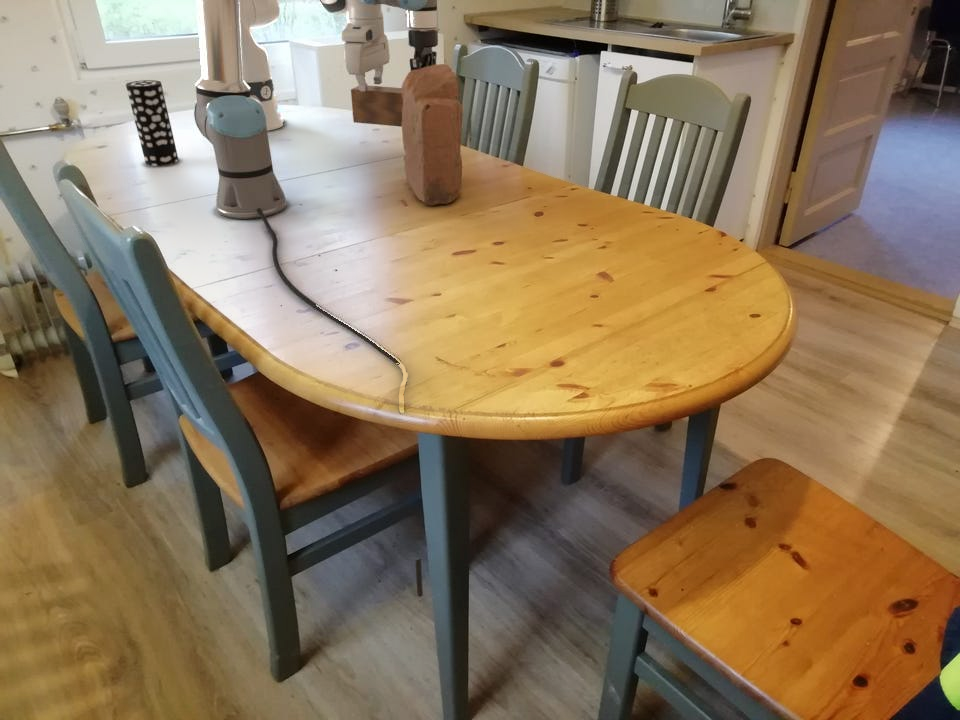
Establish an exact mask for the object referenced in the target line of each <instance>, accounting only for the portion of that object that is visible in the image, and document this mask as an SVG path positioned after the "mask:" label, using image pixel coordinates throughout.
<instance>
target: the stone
mask: <svg viewBox="0 0 960 720" xmlns="http://www.w3.org/2000/svg"><path fill="white" fill-rule="evenodd" d="M400 88H401V94H402V98H403V109H402V127H401V133H402V145H403V150H404V155H403V164H404V165H403V166H404V175H405V177H406V181H407V183H408V184H409V187H410V189H412V191H413V193H414V195H415V196H416V197H417V198H418V200H419V201H422V203H423V205H425V206H436V205H447V204H449V203H452V202H454V200H455V199H457V198H459V197H460V192H461V189H462V185H463V178H462V177H463V159H462V154H461V152H462V151H461V144H462V129H463V119H464V118H463V117H464V108H463V104H461V103H460V100H459V84H458V81H457V76H456V73H455V72H453V70H452V68H451V67H450V65H448V64H446V63H440V64H436V65H431V66H427V67H424V68H421V69H417V70H412V71H411V70H410V71H409V72H408V73H407V75H406V76H405V78H404V80H403V82H402V85H401V87H400Z"/></svg>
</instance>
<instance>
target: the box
mask: <svg viewBox="0 0 960 720" xmlns="http://www.w3.org/2000/svg"><path fill="white" fill-rule="evenodd" d="M367 88H368V89H367V90H366V91H360V90H359V85H357V86H355V87H353V88H351V89H350V95H351V96H350V97H351V109H352V119H353V123H355V124H365V125H367V124H368V125H379V126H390V127H401V128H402V109H403V98H402V94H401V87H395V86H394V87H392V86H380V85H367Z"/></svg>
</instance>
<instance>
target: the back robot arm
mask: <svg viewBox="0 0 960 720" xmlns="http://www.w3.org/2000/svg"><path fill="white" fill-rule="evenodd" d="M318 1H319V3H320V5H321V6H322V8H323V9H324V10H325V11H326V12H327V13H330V14H335V15H336V14H347V23H346V26H345V28H344V29H343V30H342V31H341V33H340V37H341V41H342V42H344V44H343V56H344V57H343V58H344V64H345V70H346V72H347V73H348V75H349V76H350V75H352V76H355V79H356V81H357V84H358V86H359V90H360V91H366V90H367V89H368V88H367V86H368V83H367V82H366V73H368V72H371V71H373V70H374V76H373V77H372V78H373V84H374V85H381V84H382V83H383V73H384V66H385V65H387V64H389V63H390V58H391V57H390V46H389V41H388V40H389V39H388V36H387V35H386V34H385V24H384V14H383V11H382V4H376V5H373V4H364V3H363V2H362V1H361V0H318ZM239 9H240V32H241V54H242V76H243V81H244V82H245V83H246V84H247V85H248V86H249V87H250V98H253V99H255V100H257V101H258V102H260V104H261V105H262V107H263V110H264V114H265V116H266V126H267V132H268V131H269V132H270V131H272V130H277V129H280V128H282V127H283V125H284V122H285V118H284V117H282V113H281V108H282V107H281V105H279V100H278V97H277V95H276V94H275V93H274V90H275V88H274V86H275V85H274V82H273V78H272V77H271V70H270V64H269V56H268V53H267V50H266V49H265V48H264V47H263V46H261V45H260V44H258V43H257V42H256V40H255V39H254V37H253V34H252V31H251V30H252V29H259V28H265V27H267V26H269V25H271V24H273V23H275V22H276V21H278V18H279V16H280V10H281V9H280V3H279V0H239Z"/></svg>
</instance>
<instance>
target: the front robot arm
mask: <svg viewBox="0 0 960 720" xmlns="http://www.w3.org/2000/svg"><path fill="white" fill-rule="evenodd" d="M361 1H362V2H363V3H364V4H373V5H376V4H381V5H386V6H389V7H393V8H398V9H402V10H405V11H406V13H405V17H406V18H407V19H406V21H407V27H408V28H409V29H408V30H407V44H408V46H409V47H411V48H414V53H413V58H409V67H410V71H412V70H417V69H421V68H424V67H427V66H431V65H437V55H438V53H437V51H433V48H435V47H437V46H438V45H439V32H438V30H437V28H438V27H439V22H438V21H439V16H438V0H361ZM196 8H197V9H196V10H197V21H198V24H197V25H198V37H199V48H200V49H199V51H200V65H201V77H200V79H199V80H197V82H196V83H195V95H196V101H195V103H194V109H193V116H194V121H195V124H196V127H197V129H198V131H199V132H200V134H201V135H202V136H203V137H204V138H205V139H206V140H207V141H208V142H209V143H210V144H211V145H212V147H213V151H214V156H215V161H216V167H217V169H218V170H217V172H218V185H217V193H216V201H215V203H216V204H215V206H216V210H217V213H218V214H219V215H221V216H223V217H225V218H229V219H236V220H253V219H260V218H261V220H262V222H263V224H264V226H265V228H266V230H267V232H268V233H269V234H270V236H271V238H272V250H271V253H272V261H273V265H274V267H275V270H276V272H277V274H278V275H279V277H280V279H281V281H282V282H283V284H285V285H286V287H287V288H288V289H289V290H290V291H291V292H292V293H293V294H295V295H296V296H297V297H298V298H299V299H300V300H302V301H303V302H305V303H306V304H307V305H308V306H310V307H311V308H312V309H314V310H316V311H318V312H319V313H320V314H322V315H324V316H325V317H326V318H328V319H330V320H331V321H333V322H335V323H336V324H338V325H340V326H341V327H343V328H345V329H346V330H348V331H349V332H351V333H352V334H354V335H356V336H357V337H358V338H360V339H362V340H363V341H364V342H366V343H368V345H370V346H371V347H373V348H374V349H375V350H376V351H378V352H379V353H380V354H382V355H383V356H385V357H386V358H388V359H389V360H390V361H392V362H393V363H394V364H395V365H396V363H399V362H398V361H397V360H396V359H395V358H393V357H392V356H391V355H389V354H388V353H387V352H385V351H384V350H382V349H381V348H380V347H378V346H377V345H376V344H375V343H373V342H372V341H370V340H369V339H368V338H366V337H365V336H363V335H362V334H360V333H358V332H357V331H355V330H354V329H352V328H351V327H349V326H348V325H346V324H344V323H343V322H341V321H339V320H338V319H336V318H334V317H333V316H331V315H330V314H328V313H327V312H325V311H323V310H322V309H320V308H319V307H317V306H316V304H317V305H319V304H318V303H316V302H314V301H313V300H312V299H310V298H309V297H308V296H306V295H305V294H304V293H302V291H300V290H299V289H298V288H297V287H295V286H294V285H293V283H292V282H291V281H290V280H289V279H288V277H287V276H286V275H285V272H284V271H283V270H282V268H281V265H280V261H279V257H278V238H277V235H276V233H275V231H274V230H273V228H272V227H271V224H270V222H269V221H268V219H267V217H270V216H274V215H276V214H278V213H280V212H282V211H283V210H285V209H286V207H287V199H286V194H285V193H284V191H283V189H282V187H281V184H280V182H279V180H278V179H277V177H276V175H275V172H274V167H273V160H272V154H271V147H270V140H269V135H268V134H269V133H268V131H267V126H266V116H265V114H264V110H263V107H262V105H261V104H260V102H258V101H257V100H255V99H253V98H250V87H249V86H248V85H247V84H246V83H245V82H244V81H243V76H242V54H241V32H240V9H239V0H196ZM319 306H320V305H319ZM320 307H322V306H320ZM327 311H328V312H330V311H329V310H327ZM330 313H331V312H330ZM331 314H333V313H331ZM348 324H349V323H348ZM349 325H351V324H349ZM356 329H357V328H356ZM357 330H359V329H357ZM359 331H360V332H362V331H361V330H359ZM362 333H363V334H365V333H364V332H362ZM365 335H366V336H368V335H367V334H365ZM368 337H369V338H371V337H370V336H368ZM371 339H372V340H374V339H373V338H371ZM374 341H375V342H377V341H376V340H374ZM378 344H379V343H378ZM379 345H380V346H382V345H381V344H379ZM383 348H384V349H386V348H385V347H383ZM386 350H387V351H389V350H388V349H386ZM393 355H394V356H396V355H395V354H393ZM398 359H399V360H400V361H402V360H401V359H400V358H398ZM399 364H400V363H399ZM399 364H397V365H399ZM397 365H396V366H397ZM399 414H401V413H399ZM401 415H402V414H401ZM415 580H416V594H417V597H419V598H421V597H422V596H424V595H423V594H424V593H423V591H424V589H423V574H422V558H419V559H416V560H415Z"/></svg>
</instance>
